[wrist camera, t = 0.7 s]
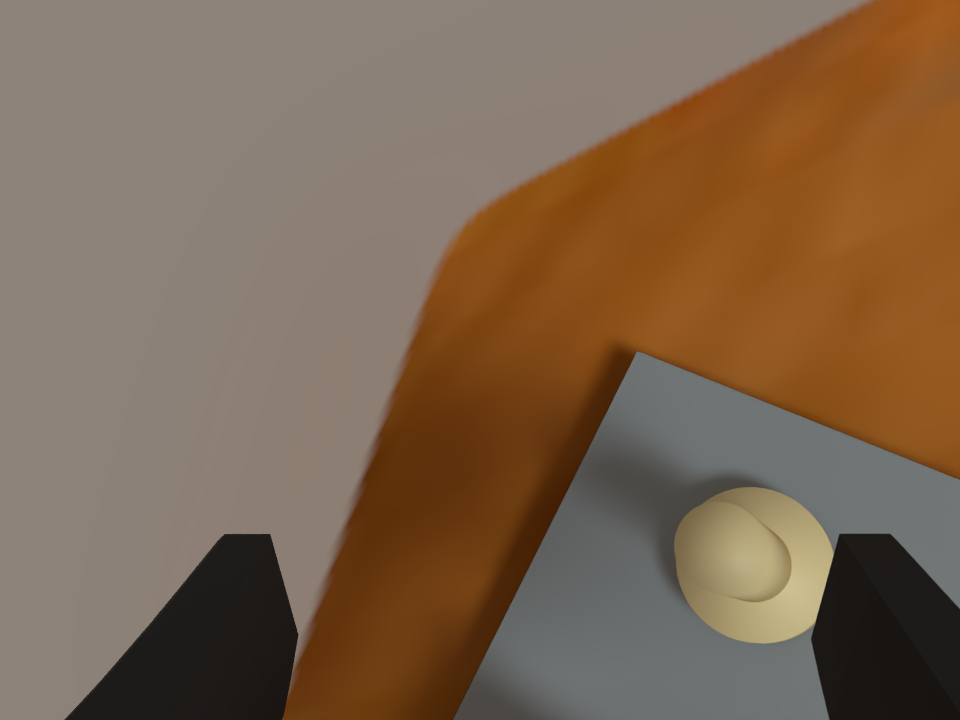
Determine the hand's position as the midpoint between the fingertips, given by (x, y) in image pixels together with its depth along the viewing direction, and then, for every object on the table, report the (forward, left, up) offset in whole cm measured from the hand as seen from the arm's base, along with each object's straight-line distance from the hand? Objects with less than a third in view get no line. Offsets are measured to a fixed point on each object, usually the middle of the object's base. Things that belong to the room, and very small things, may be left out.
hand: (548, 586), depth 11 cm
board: (-3, +2, -15) cm, 16 cm away
